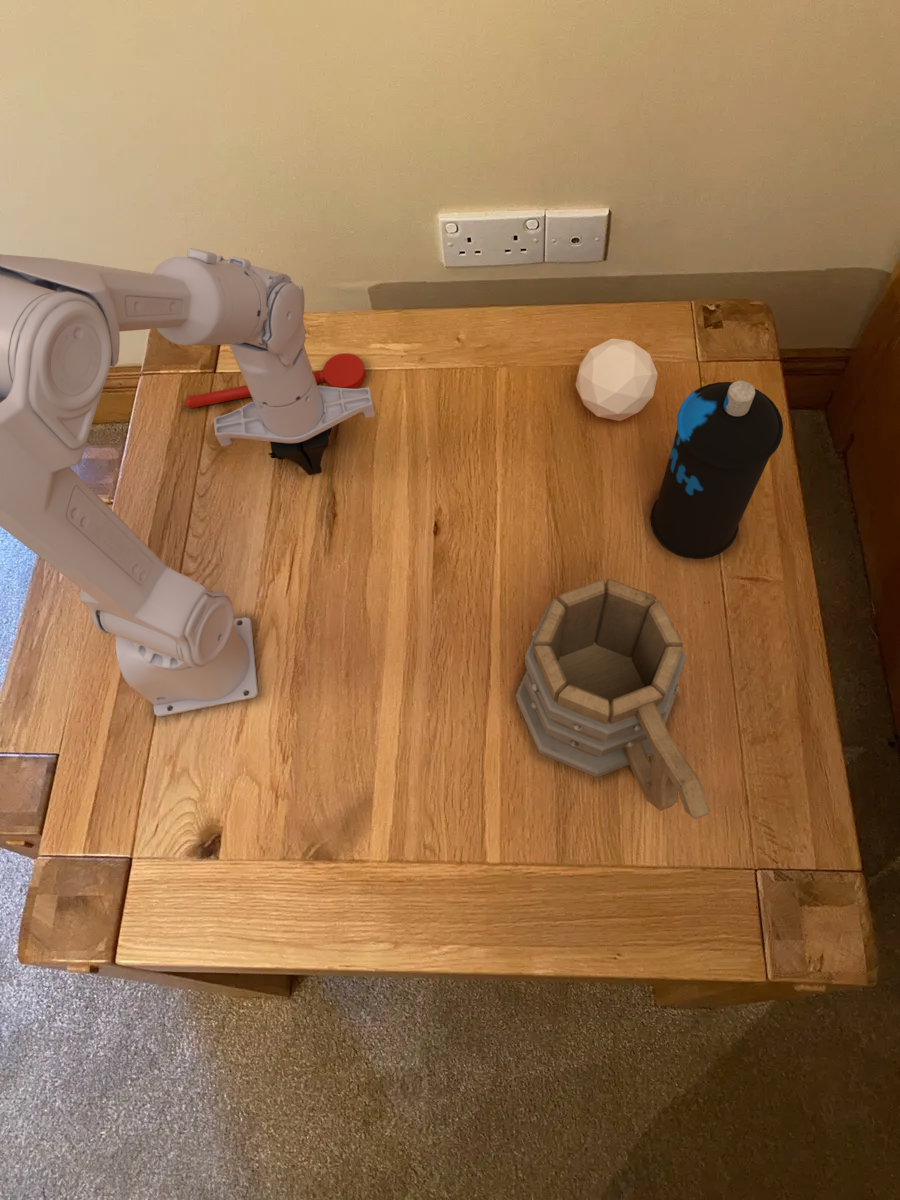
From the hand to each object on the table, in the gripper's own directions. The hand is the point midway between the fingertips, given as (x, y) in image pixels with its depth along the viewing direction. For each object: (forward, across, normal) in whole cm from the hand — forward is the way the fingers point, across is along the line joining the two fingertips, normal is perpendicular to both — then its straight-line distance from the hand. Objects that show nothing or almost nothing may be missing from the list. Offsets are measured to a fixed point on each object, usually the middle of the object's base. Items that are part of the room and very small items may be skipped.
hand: (313, 465), depth 89 cm
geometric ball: (+1, -31, -1) cm, 31 cm away
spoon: (+1, +2, -11) cm, 11 cm away
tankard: (+1, -22, +33) cm, 40 cm away
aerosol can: (+1, -35, +14) cm, 38 cm away
